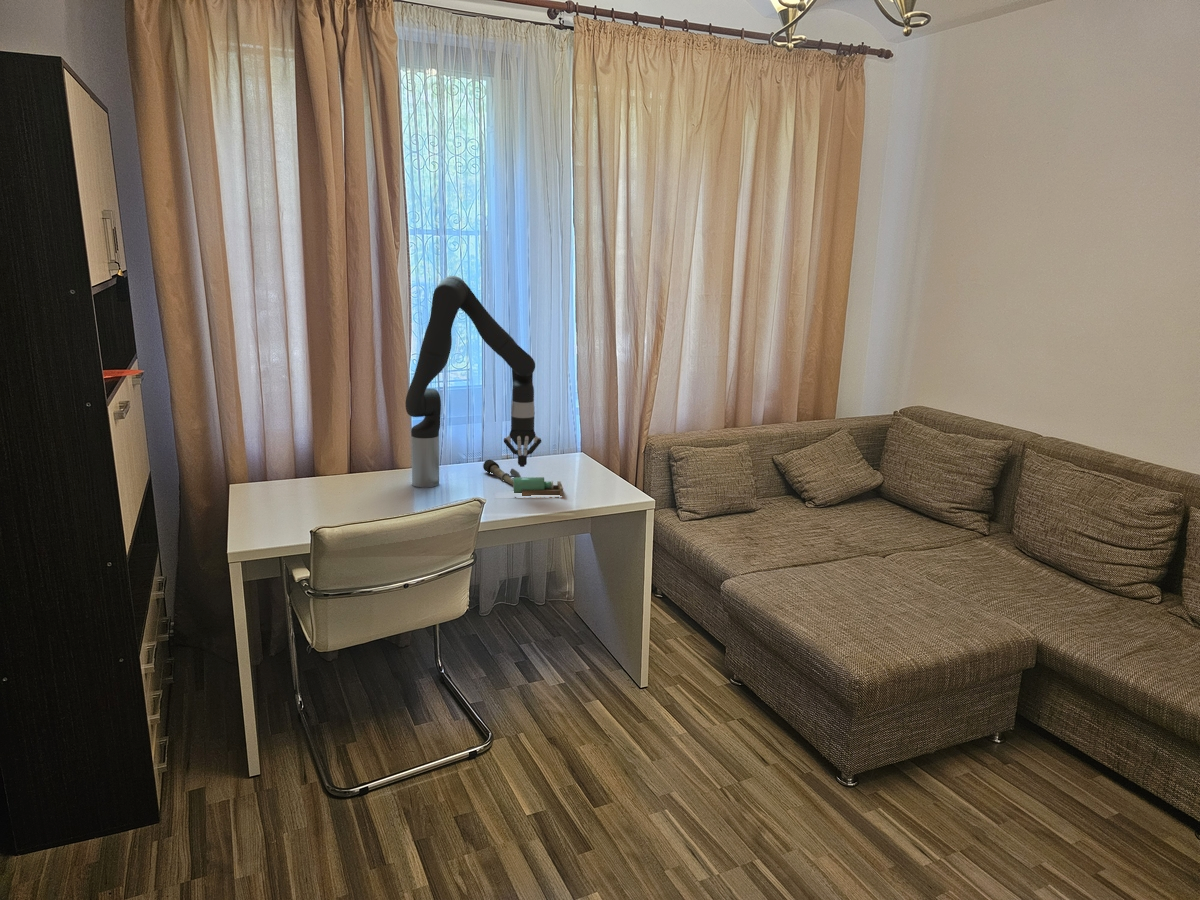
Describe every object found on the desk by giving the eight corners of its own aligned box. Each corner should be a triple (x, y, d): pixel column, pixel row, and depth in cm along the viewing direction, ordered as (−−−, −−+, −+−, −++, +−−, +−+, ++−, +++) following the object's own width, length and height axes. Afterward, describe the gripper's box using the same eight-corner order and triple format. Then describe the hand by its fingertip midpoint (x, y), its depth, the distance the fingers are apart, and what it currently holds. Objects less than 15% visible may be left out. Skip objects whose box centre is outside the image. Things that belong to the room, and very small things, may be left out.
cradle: (493, 493, 276) (493, 481, 275) (560, 492, 280) (560, 481, 279) (494, 500, 267) (494, 489, 266) (562, 500, 271) (563, 488, 270)
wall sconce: (515, 496, 276) (483, 472, 301) (532, 493, 279) (499, 469, 304) (514, 483, 274) (482, 460, 300) (531, 480, 277) (498, 457, 303)
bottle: (513, 476, 274) (552, 476, 276) (513, 491, 275) (551, 491, 277) (514, 478, 269) (553, 478, 271) (514, 494, 270) (553, 494, 272)
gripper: (542, 412, 271) (541, 463, 275) (501, 412, 269) (501, 463, 273) (544, 417, 264) (543, 469, 268) (502, 416, 262) (502, 469, 266)
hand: (522, 466), depth 271 cm, fingers closed
